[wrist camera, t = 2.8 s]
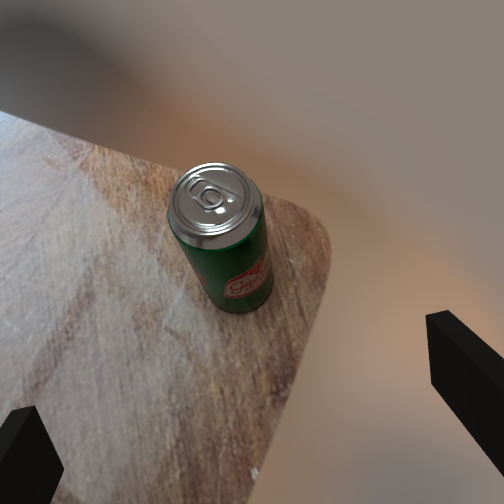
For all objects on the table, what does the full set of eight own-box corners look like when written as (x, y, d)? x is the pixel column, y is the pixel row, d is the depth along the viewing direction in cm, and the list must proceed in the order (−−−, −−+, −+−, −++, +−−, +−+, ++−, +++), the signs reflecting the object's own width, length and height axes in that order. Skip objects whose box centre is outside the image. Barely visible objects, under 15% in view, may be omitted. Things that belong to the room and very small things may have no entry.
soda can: (243, 329, 31) (213, 261, 20) (192, 287, 32) (141, 205, 22) (287, 277, 32) (282, 188, 21) (236, 240, 34) (208, 140, 23)
